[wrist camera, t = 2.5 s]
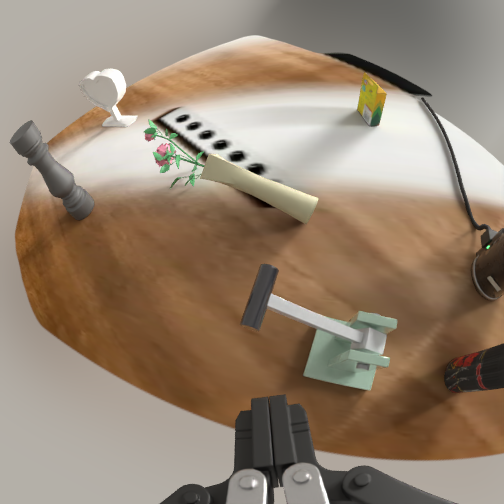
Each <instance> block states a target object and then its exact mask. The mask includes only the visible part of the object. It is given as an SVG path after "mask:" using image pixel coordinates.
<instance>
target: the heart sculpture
mask: <svg viewBox="0 0 504 504" xmlns="http://www.w3.org/2000/svg"><path fill="white" fill-rule="evenodd" d="M79 87H80V90H81V91H82V93H83V94H84V96H85V97H86V98H87V99H88V100H89V101H90V102H91V103H93V104H95V105H96V106H98V107H100V108H102V109H104V110H106V111H108V112H109V111H110V113H111V115H112V116H111V117H109V118H108V119H106V120H105V121H104V123H103V125H102V126H115V127H128V126H130V125H131V124H133V123H134V122H135V121H136V119H137V116H121V115H120V113H119V111H118V109H117V107H116V104H117V103H118V102H119V101H120V100H121V99H122V97H123V96H124V94H125V91H126V83H125V79H124V77H123V75H122V73H121V72H120V71H118V70H115V69H105V70H103V71H102V72H101V73H100V72H98V71H94V72H92V73H90V74H89V75H87V76H86V77H85V78H84V79H83V80H82V81H81V82H80V83H79Z"/></svg>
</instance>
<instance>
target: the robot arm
mask: <svg viewBox="0 0 504 504" xmlns="http://www.w3.org/2000/svg"><path fill="white" fill-rule="evenodd" d="M421 99H422V101H423V102H424V103H425V105H426V106H427V107H428V109H429V110H430V112H431V113H432V115H433V116H434V118H435V119H436V121H437V123H438V125H439V126H440V128H441V130H442V132H443V135H444V137H445V139H446V142H447V144H448V147H449V150H450V153H451V156H452V159H453V163H454V167H455V170H456V174H457V177H458V182H459V186H460V189H461V193H462V195H463V198H464V202H465V205H466V209H467V212H468V215H469V217H470V219H471V221H472V224H473V225H474V227H475V228H476V229H477V230H483V229H486V231H485V232H484V233H483V234H482V235H481V244H482V248H481V249H480V250H479V251H478V252H477V253H476V255H477V256H476V258H475V259H474V261H473V264H472V278H473V282H474V285H475V287H476V289H477V290H478V292H479V293H480V294H481V295H482V296H483V297H484V298H485V299H487V300H496V299H498V298H499V297H501V296H502V295H503V294H504V228H502V229H501V230H500V231H499V232H496V231H494V230H492V229H491V228H490V227H489V226H488V225H486V224H482V225H481V226H479V225H478V224H477V223H476V222H475V220H474V218H473V216H472V213H471V209H470V205H469V202H468V199H467V196H466V193H465V190H464V187H463V183H462V179H461V175H460V172H459V168H458V165H457V161H456V158H455V155H454V152H453V149H452V146H451V144H450V141H449V138H448V136H447V134H446V132H445V130H444V128H443V126H442V124H441V122H440V120H439V119H438V117H437V116H436V114H435V113H434V111H433V110H432V108H431V107H430V105H429V104H428V103H427V102H426V100H425V99H424V98H421ZM269 400H270V404H269ZM235 431H236V432H235V459H234V471H233V474H232V475H231V476H230V478H229V479H227V480H226V481H224V482H223V483H220V484H217V485H213V486H209V487H205V488H204V487H202V486H200V485H197V484H188V485H184V486H182V487H180V488H179V489H178V490H177V491H175V492H174V493H173V494H172V495H170V496H169V497H168V498H167V499H165V500H164V501H163V502H161V503H160V504H274V490H273V488H275V487H279V485H278V479H279V483H280V487H284V492H285V497H286V502H287V504H457V503H454V502H451V501H448V500H445V499H443V498H440V497H437V496H435V495H432V494H430V493H427V492H424V491H422V490H420V489H417V488H415V487H413V486H410V485H408V484H406V483H404V482H401V481H399V480H397V479H395V478H393V477H390V476H389V475H387V474H384V473H382V472H381V471H379V470H376V469H374V468H372V467H370V466H358V467H355V468H352V469H351V470H349V471H331V470H327V469H325V468H323V467H322V466H320V465H319V464H318V462H317V460H316V457H315V452H314V447H313V442H312V437H311V433H310V428H309V423H308V418H307V414H306V411H305V410H304V409H303V407H302V406H301V405H300V404H294V405H288V406H287V399H286V394H283V395H276V396H269V399H268V397H262V398H253V399H251V410H248V411H241V412H240V413H239V415H238V417H237V419H236V426H235Z"/></svg>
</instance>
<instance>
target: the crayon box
mask: <svg viewBox="0 0 504 504" xmlns="http://www.w3.org/2000/svg"><path fill="white" fill-rule="evenodd" d="M386 95H387V93H386V92H385V91H384V90H383V89H382V88H381V87H380V86H379V85H378V84H377V83H376V82H375V81H374V80H373V79H371V78H370V77H369V76H368V75H367V74H366V73H365V72H364V75H363V78H362V85H361V91H360V97H359V103H358V108H357V110H358V111H359V112H360V114H361V115H362V117H363V118H364V119H365V121H366V122H367V123H368V125H369V126H378V125H379V123H380V119H381V115H382V111H383V107H384V103H385V99H386Z"/></svg>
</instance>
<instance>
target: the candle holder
mask: <svg viewBox="0 0 504 504" xmlns="http://www.w3.org/2000/svg"><path fill="white" fill-rule="evenodd" d="M40 134H41V133H40V131H39V130H38V128H37V127H36V125H35V124H34V122H33V121H32V120H31V121H28V122H27V123H25V124H24V125H23V126H21V127H20V128H19V129H18V130H17V132H16V133H15V134H14V135H13V137H12V138H11V140H10V143H11V145H12V146H13V147H14V149H15V150H16V151H17V152H18V154H19V155H22V156H23V157H26V158H28V164H29V165H33V166H35V167H36V168H37V169H38V170H39V172H40V173H41V174H42V176H43V178H44V180H45V183H46V185H47V187H48V189H49V191H50V192H51V194H52V195H53V196H54V197H58V198H61V199H63V205H64V206H65V207H66V210H67V211H68V212H69V213H70V214H71V215H72V216H73V217H74V218H75V219H76V220H81V219H84V218H85V217H87V216H88V215H89V214H90V213H91V211H92V209H93V207H94V200H93V198H92V197H91V196H90V195H89V194H88V192H87V191H86V190H85V189H83V188H82V187H81V186H77V185H76V184H75V181H74V176H73V174H72V173H71V172H70V171H69V170H67V169H66V168H65V167H63V166H62V165H61V164H59V163H58V162H57V161H55V160H54V158H53V157H52V156H51V154H50V153H49V152H48V144H46V143H42V139H41V138H42V136H40Z"/></svg>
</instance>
